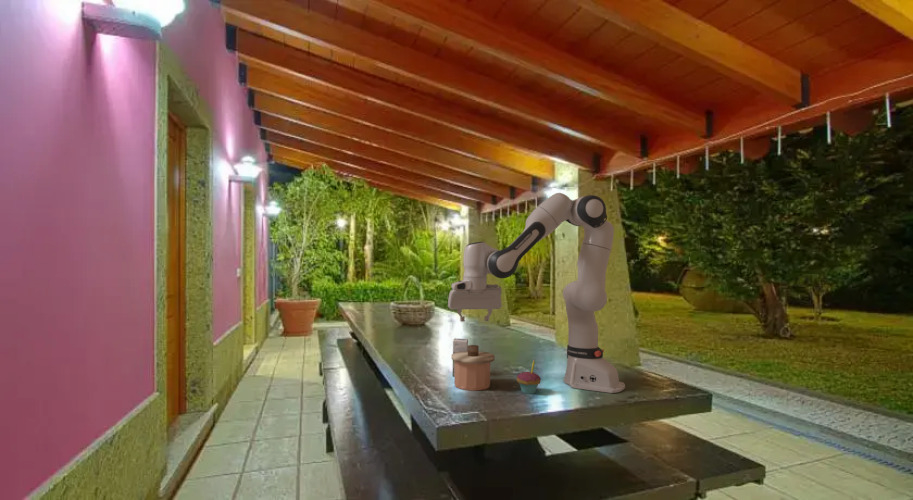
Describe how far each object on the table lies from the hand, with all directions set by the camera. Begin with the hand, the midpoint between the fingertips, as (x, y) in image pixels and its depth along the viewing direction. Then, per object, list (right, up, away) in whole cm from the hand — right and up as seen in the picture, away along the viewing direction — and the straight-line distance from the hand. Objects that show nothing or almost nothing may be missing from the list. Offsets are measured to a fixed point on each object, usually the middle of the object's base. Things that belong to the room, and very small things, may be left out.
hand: (474, 321), depth 174 cm
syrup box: (-5, -24, +12) cm, 27 cm away
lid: (-1, -14, -3) cm, 14 cm away
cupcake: (+19, -24, -10) cm, 32 cm away
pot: (-1, -24, -3) cm, 24 cm away
